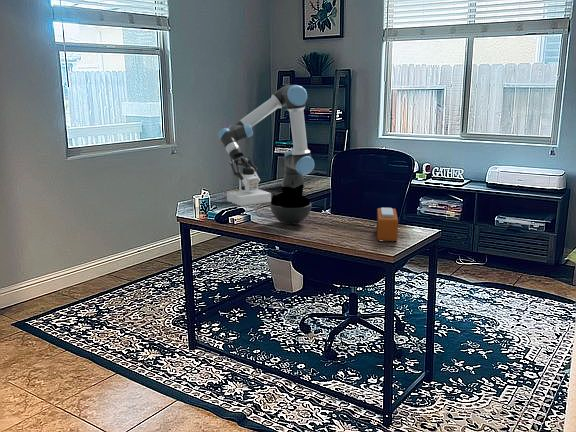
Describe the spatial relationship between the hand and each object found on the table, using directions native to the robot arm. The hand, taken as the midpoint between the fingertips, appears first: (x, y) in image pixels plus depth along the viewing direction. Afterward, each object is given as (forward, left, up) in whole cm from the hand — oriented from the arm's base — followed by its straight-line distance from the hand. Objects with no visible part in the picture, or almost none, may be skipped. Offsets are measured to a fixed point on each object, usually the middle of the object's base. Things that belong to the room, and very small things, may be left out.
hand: (252, 182), depth 318 cm
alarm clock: (-18, +91, -12) cm, 94 cm away
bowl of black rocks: (+8, +52, -11) cm, 54 cm away
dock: (+1, -3, -11) cm, 12 cm away
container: (+1, -3, -5) cm, 6 cm away
